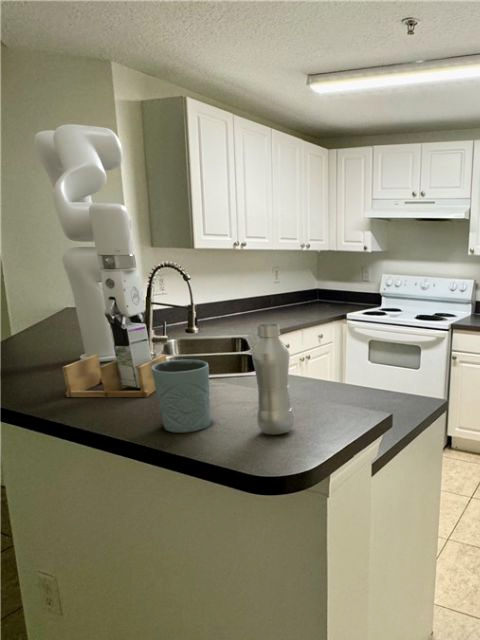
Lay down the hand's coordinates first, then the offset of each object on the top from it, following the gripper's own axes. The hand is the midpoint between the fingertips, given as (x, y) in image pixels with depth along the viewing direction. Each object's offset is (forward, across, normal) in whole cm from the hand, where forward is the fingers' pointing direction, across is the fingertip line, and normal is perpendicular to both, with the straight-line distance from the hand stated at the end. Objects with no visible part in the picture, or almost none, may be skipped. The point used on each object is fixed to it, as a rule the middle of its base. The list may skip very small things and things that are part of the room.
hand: (130, 342), depth 128 cm
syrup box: (+11, 0, 0) cm, 11 cm away
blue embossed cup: (+11, -28, -22) cm, 37 cm away
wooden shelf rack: (+11, 0, +4) cm, 12 cm away
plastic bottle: (+11, -32, -40) cm, 52 cm away
